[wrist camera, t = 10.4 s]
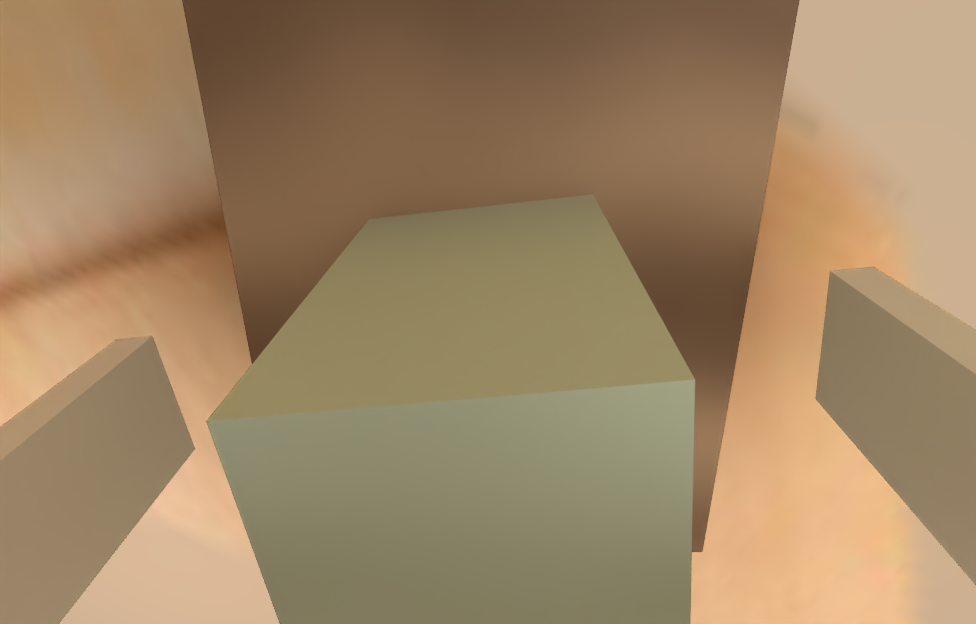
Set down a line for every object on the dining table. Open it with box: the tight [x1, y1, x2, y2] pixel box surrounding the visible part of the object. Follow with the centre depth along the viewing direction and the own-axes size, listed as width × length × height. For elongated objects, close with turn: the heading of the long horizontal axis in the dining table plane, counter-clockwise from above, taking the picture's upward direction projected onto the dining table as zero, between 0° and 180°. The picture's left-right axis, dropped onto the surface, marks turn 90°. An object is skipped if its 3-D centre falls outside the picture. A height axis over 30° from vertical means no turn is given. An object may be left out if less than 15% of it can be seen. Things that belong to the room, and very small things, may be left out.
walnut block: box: [182, 0, 799, 552], centre depth 17 cm, size 15×12×5 cm
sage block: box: [206, 194, 695, 624], centre depth 11 cm, size 5×5×8 cm
